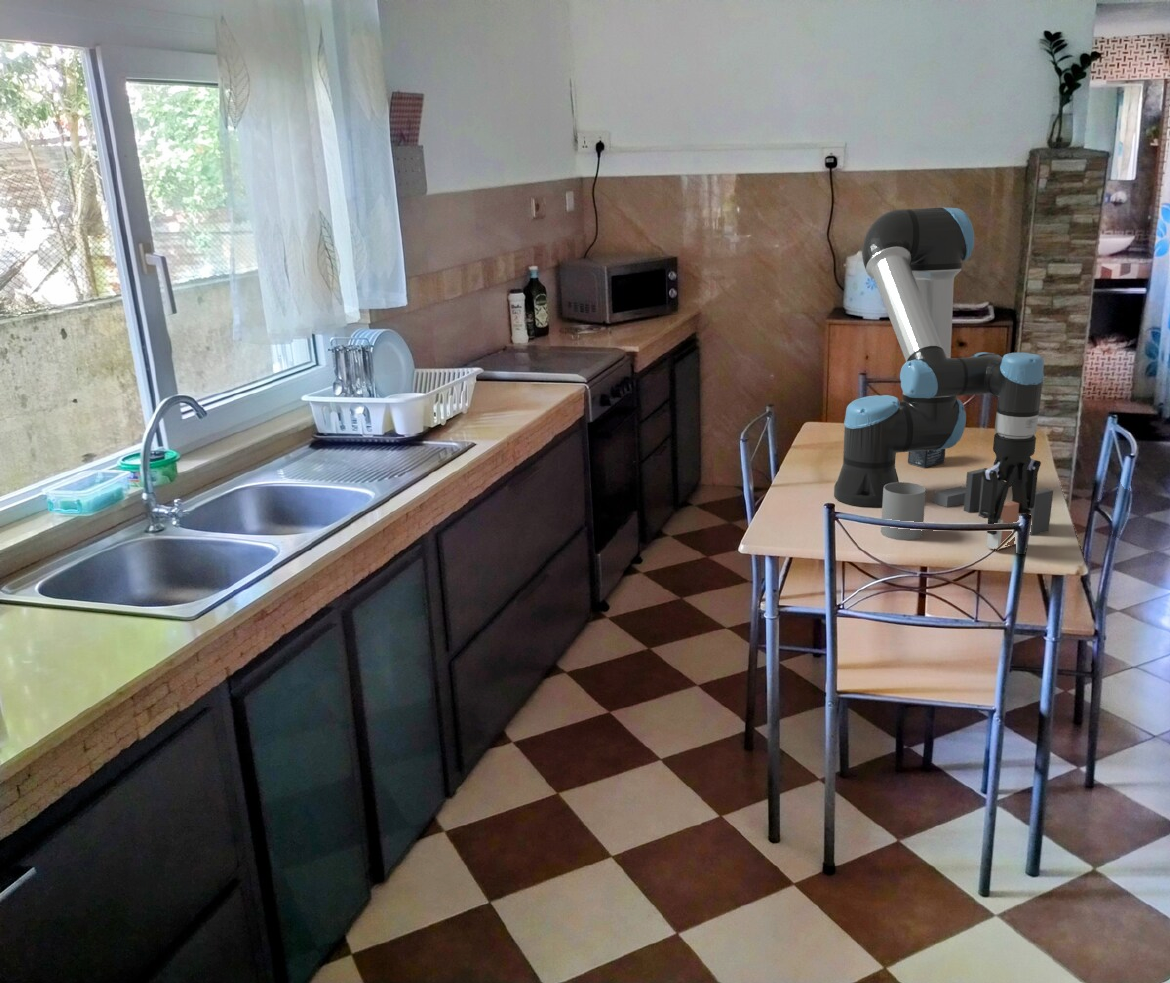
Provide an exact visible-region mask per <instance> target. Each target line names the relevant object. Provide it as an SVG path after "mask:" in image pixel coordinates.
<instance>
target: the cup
mask: <svg viewBox="0 0 1170 983" xmlns="http://www.w3.org/2000/svg"><path fill="white" fill-rule="evenodd" d="M926 491H927V489H926V488H925V487H924V486H923V485H920V484H918V483H913V482H905V481H903V482H902V481H899V482H896V483H889V484H886V485H885V486H884V487H883V503H882V506H881V519H892V520H900V521H914V522H923V523H925V522H924V520H925V507H926V494H927V492H926ZM923 531H924V530H923ZM923 531H921V530H910V529H898V528H890V527H881V526H880V533H881V535H882V536H884V537H885V538H888V539H890V540H891V539H892V540H897V541H915V540H917V539H920V538H922V536H923V533H924V532H923Z"/></svg>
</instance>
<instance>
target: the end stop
mask: <svg viewBox="0 0 1170 983" xmlns="http://www.w3.org/2000/svg"><path fill="white" fill-rule="evenodd" d="M965 490H966V487H963V486H961V485H960V486H955V487H952V488H948V489H947V488H946V489H942V490H939V491H934V494H933V504H937V505H939V506H942V507H944V508H950V507H954V506H955V507H956V506H959V505H962V504H963V505H964V501H965Z"/></svg>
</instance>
